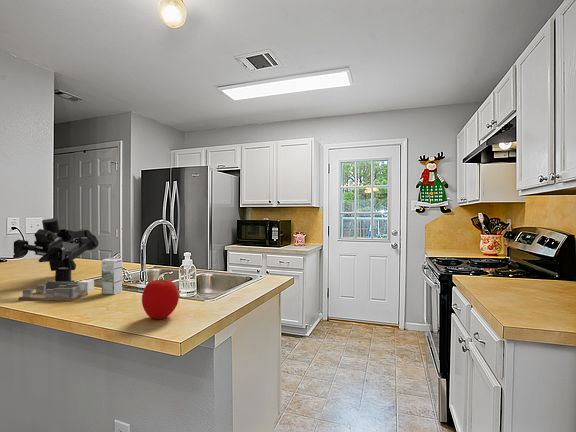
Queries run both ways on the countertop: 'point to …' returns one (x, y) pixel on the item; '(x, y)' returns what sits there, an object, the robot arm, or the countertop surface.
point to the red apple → (160, 298)
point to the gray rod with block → (88, 283)
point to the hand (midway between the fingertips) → (26, 259)
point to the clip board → (55, 293)
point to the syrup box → (111, 276)
